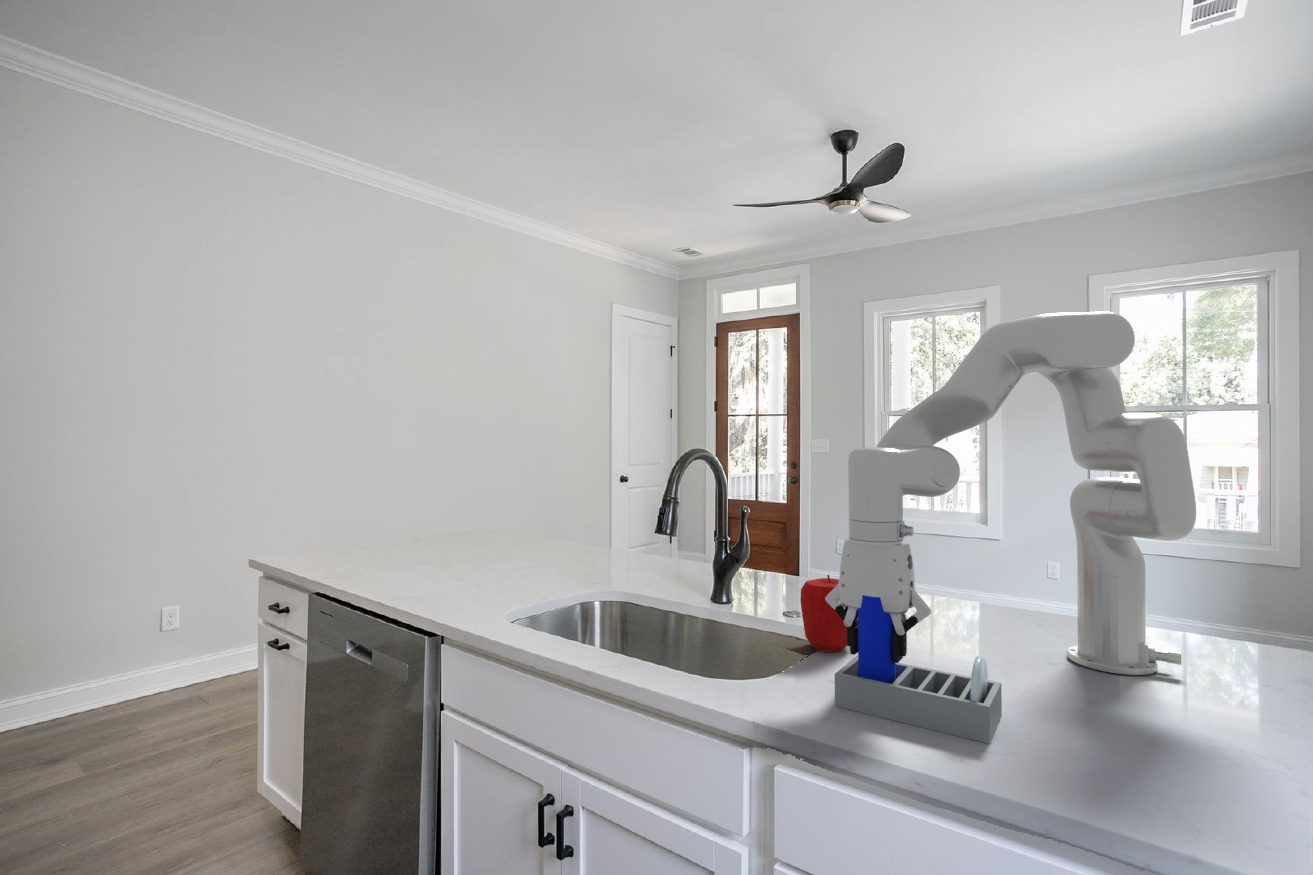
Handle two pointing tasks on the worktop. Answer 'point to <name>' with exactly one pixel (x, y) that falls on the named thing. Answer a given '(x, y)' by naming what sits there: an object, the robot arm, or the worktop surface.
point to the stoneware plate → (979, 680)
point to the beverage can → (875, 640)
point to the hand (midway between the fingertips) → (876, 654)
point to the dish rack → (922, 700)
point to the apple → (822, 616)
